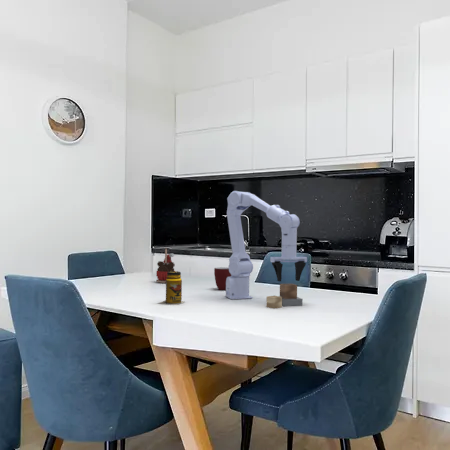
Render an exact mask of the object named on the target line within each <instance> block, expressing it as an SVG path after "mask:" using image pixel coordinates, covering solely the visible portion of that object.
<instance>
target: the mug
mask: <svg viewBox="0 0 450 450" xmlns="http://www.w3.org/2000/svg"><path fill="white" fill-rule="evenodd" d="M213 270H214V281H215V285H216V287H217V289H218V291H226V279H227V277H231V274H230V272H229V267H222V266H221V267H214V269H213Z"/></svg>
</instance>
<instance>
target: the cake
mask: <svg viewBox="0 0 450 450" xmlns="http://www.w3.org/2000/svg"><path fill="white" fill-rule="evenodd" d="M173 257H175V254H174V253H168V247H164V259H163V261H162V260H161V261H160V260H159V261H158V262H157V264H156V265H157V266H158V268H157V270H156V274H155V275H156V277H157V278H156V283H160V284H166V279H167V272H170V271H175V268H174V267H175V262H173V261H172V258H173Z"/></svg>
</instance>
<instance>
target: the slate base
mask: <svg viewBox="0 0 450 450" xmlns="http://www.w3.org/2000/svg"><path fill="white" fill-rule="evenodd" d="M278 296H279V297H280V295H278ZM295 306H296V307H299V306H303V298H301V297H298V296H297V298H293V299H284V298H282V307H295Z"/></svg>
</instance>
